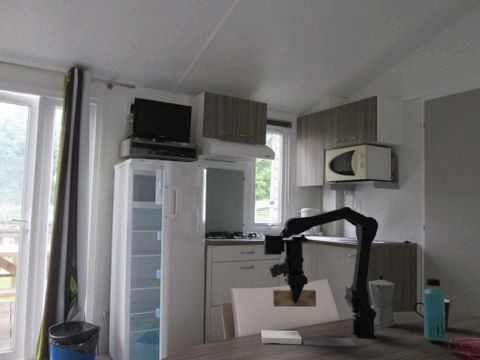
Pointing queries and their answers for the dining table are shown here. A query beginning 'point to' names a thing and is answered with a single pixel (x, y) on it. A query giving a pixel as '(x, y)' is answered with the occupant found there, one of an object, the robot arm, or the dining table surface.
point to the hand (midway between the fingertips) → (294, 302)
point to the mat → (327, 342)
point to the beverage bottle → (434, 311)
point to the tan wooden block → (286, 300)
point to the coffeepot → (382, 301)
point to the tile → (281, 337)
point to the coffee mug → (447, 305)
